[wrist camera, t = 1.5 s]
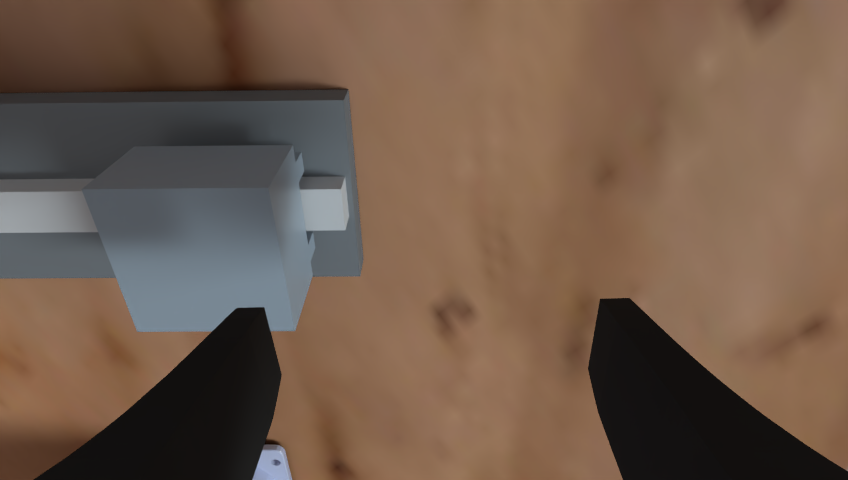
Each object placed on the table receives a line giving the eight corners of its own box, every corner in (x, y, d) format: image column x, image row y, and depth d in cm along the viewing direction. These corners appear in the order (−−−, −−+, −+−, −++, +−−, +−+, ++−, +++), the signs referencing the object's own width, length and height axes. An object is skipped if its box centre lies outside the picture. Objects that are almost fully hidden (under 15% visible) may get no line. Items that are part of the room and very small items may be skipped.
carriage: (317, 261, 20) (295, 330, 17) (185, 261, 20) (137, 331, 17) (299, 134, 17) (268, 187, 14) (147, 135, 17) (81, 189, 14)
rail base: (363, 258, 22) (357, 291, 20) (-116, 262, 22) (-166, 294, 20) (348, 89, 18) (339, 110, 16) (-227, 95, 18) (-300, 116, 17)
